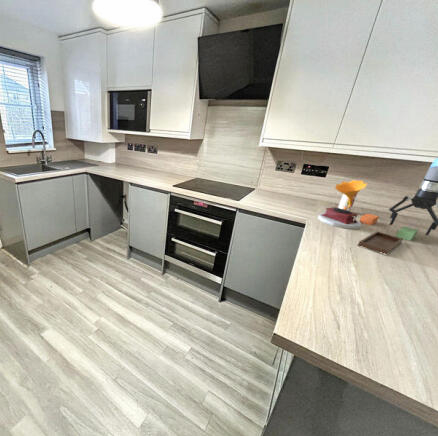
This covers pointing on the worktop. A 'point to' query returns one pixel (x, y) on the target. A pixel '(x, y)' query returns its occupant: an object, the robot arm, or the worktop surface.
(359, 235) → the worktop surface
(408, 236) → the pad
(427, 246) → the worktop surface
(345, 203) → the aerosol can
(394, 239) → the frame
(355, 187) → the gramophone
